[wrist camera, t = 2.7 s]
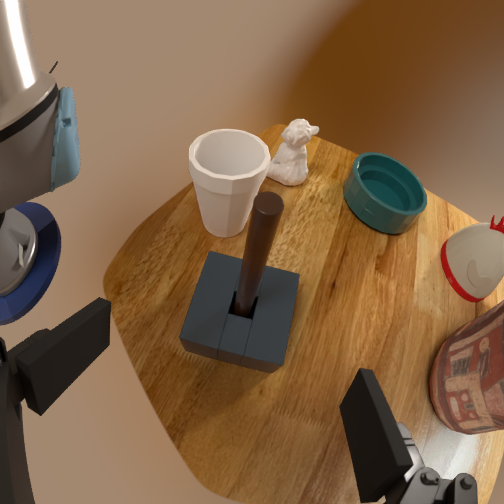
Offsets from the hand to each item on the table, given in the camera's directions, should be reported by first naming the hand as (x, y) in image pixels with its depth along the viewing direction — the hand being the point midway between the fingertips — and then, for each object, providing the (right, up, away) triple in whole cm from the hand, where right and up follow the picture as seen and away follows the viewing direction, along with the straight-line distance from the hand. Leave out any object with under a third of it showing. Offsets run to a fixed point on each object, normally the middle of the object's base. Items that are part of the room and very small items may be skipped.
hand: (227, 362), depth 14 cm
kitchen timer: (+42, +2, +31) cm, 52 cm away
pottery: (+32, -15, +19) cm, 40 cm away
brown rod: (0, -3, +22) cm, 22 cm away
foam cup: (-3, +10, +30) cm, 32 cm away
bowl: (+24, +14, +36) cm, 46 cm away
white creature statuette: (+7, +19, +37) cm, 42 cm away
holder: (0, -3, +22) cm, 22 cm away
